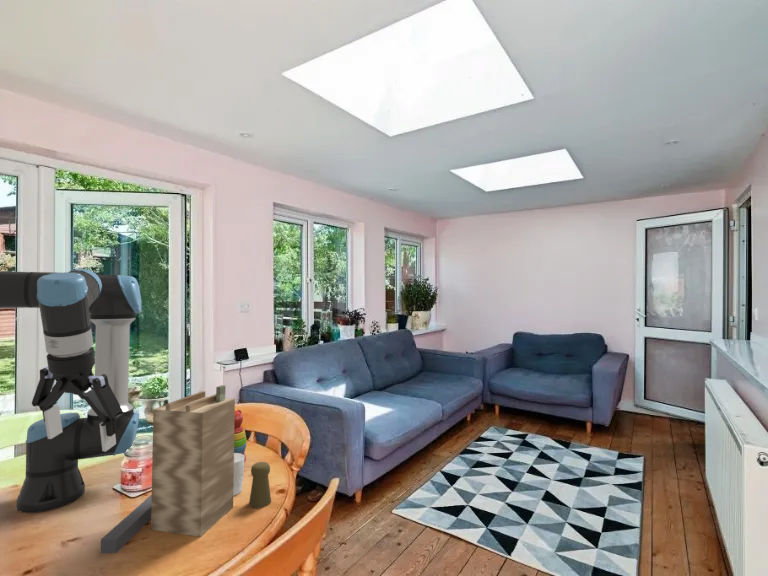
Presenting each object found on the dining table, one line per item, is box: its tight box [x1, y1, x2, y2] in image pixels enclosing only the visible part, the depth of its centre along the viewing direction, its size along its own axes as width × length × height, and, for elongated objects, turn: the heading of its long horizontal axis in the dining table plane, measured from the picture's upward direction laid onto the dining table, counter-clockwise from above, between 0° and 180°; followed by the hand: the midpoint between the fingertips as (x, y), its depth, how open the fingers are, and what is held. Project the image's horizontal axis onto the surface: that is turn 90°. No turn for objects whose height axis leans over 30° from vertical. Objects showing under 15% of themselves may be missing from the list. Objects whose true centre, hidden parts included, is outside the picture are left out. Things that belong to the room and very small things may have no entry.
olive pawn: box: [248, 461, 272, 509], centre depth 115 cm, size 6×6×11 cm
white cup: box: [233, 453, 245, 497], centre depth 121 cm, size 8×8×10 cm
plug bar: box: [100, 494, 152, 554], centre depth 104 cm, size 4×24×4 cm, turn 1°
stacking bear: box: [234, 409, 248, 463], centre depth 143 cm, size 11×10×18 cm
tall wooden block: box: [150, 384, 236, 538], centre depth 107 cm, size 14×14×34 cm
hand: (82, 441), depth 87 cm, fingers open, 13 cm apart
